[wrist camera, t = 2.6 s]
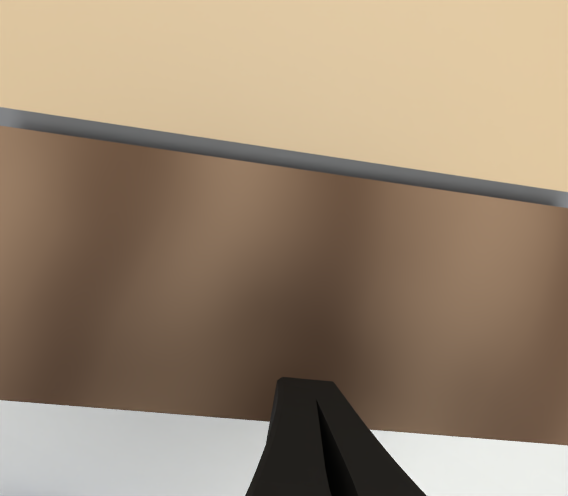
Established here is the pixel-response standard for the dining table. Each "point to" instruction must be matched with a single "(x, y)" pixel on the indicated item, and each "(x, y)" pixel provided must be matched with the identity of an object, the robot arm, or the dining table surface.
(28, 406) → the dining table surface
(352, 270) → the walnut plank
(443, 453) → the dining table surface
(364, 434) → the robot arm
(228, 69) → the base board
